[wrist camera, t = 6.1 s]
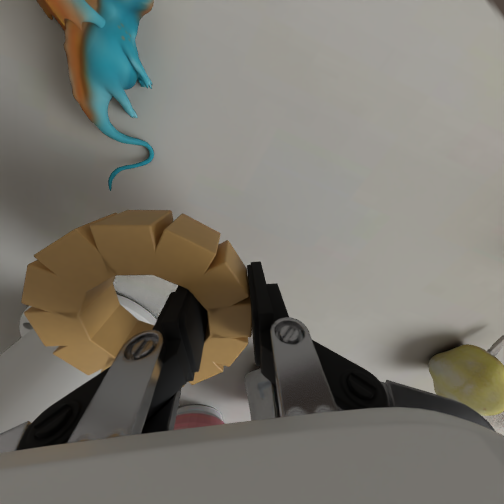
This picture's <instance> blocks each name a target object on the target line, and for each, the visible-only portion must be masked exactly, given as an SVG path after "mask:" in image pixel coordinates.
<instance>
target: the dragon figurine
mask: <svg viewBox="0 0 504 504" xmlns="http://www.w3.org/2000/svg"><path fill="white" fill-rule="evenodd" d="M37 2H38V3H39V5H40V6H41V8H42V9H43V11H44V12H45V14H46V15H47V16H48V17H49V18H50V19H51V20H53V17H52V15H53V16H54V17H55V19H56V20H57V21H58V23H59V24H60V25H61V27H62V28H63V30H64V33H65V38H66V39H65V43H64V49H65V52H66V55H67V61H68V70H69V78H70V82H71V85H72V93H73V96H74V98H75V99H76V100H77V102H78V103H79V104H80V106H81V108H82V110H83V111H84V113H85V114H86V115H87V117H88V118H89V120H90V121H91V122H93V123H94V124H95V125H96V126H97V127H98V128H99V129H100V130H101V131H102V132H103V133H104V134H105V135H107V136H108V137H110V138H112V139H114V140H116V141H119V142H121V143H126V144H135V145H142V146H145V147H147V149H148V150H149V152H150V155H149V157H148V159H146V160H144V161H142V162H139V163H136V164H132V165H126V166H122V167H119V168H117V169H115V170H114V171H113V172H112V173H111V175H110V177H109V180H108V185H109V189H110V191H111V188H112V187H111V186H112V180H113V179H114V177H115V176H116V175H117V174H118V173H119V172H120V171H122V170H125V169H131V168H135V167H139V166H143V165H146V164H148V163H149V162H151V161H152V159H153V157H154V152H153V149H152V147H151V146H150V145H149V144H148V143H147V142H145V141H143V140H140V139H137V138H133V137H129V136H127V135H124V134H122V133H120V132H119V131H117V130H116V129H115V128H114V127H113V125H112V124H111V123H110V121H109V118H108V104H109V101H110V100H111V98H112V97H114V98H115V99H116V100H117V101H118V102H119V103H120V104H121V105H122V107H123V109H124V110H125V111H126V112H127V113H128V115H130V116H131V117H132V118H133V117H134V118H138V117H137V115H136V112H135V111H134V110H133V108H132V106H131V103H130V101H129V99H128V97H127V95H126V93H125V91H124V90H125V89H130V88H132V87H133V86H134V85H135V83H136V81H137V78H138V81H139V83H140V85H141V87H145V85H146V87H147V88H148V86H149V87H150V88H151V85H152V82H151V80H150V79H149V77H148V76H147V74H146V72H145V70H144V68H143V66H142V64H141V62H140V60H139V57H138V51H137V47H136V43H135V38H136V35H137V30H138V25H139V21H140V19H141V17H143V16H144V15H145V14H147V13H148V12H150V11H151V9H152V7H153V3H154V0H37ZM151 89H152V88H151Z"/></svg>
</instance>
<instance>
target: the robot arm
mask: <svg viewBox="0 0 504 504" xmlns="http://www.w3.org/2000/svg"><path fill="white" fill-rule="evenodd" d="M247 270H248V282H249V292H250V301H251V315H252V334H253V344H254V355H255V365H256V366H259V365H260V368H261V373H262V375H263V376H264V377H265V378H267V379H268V380H269V381H270V382H271V392H272V401H273V410H274V418H272V419H263V420H254V421H245V422H237V423H229V424H220V425H212V426H204V427H195V428H187V429H179V430H174V425H175V420H176V415H177V410H178V405H179V400H180V395H181V388H182V387H183V386H184V385H185V384H186V382H188V381H193V380H194V375H195V372H199V369H200V364H201V358H202V353H203V347H204V339H205V334H206V328H207V322H208V315H207V310H206V309H205V308H204V307H203V306H202V305H201V303H200V302H199V301H198V300H197V299H196V298H195V297H194V295H193V294H192V293H191V292H190V291H189V290H188V289H186V288H184V287H181V286H179V285H178V288H177V290H176V292H172V293H171V294H170V295H169V297H168V299H167V301H166V303H165V305H164V307H163V309H162V311H161V313H160V315H159V317H158V319H157V320H156V319H155V318H154V317H153V315H152V314H151V313H150V312H148V311H147V310H146V309H144V308H143V307H142V306H140V305H139V304H137V303H135V302H133V301H131V300H130V299H128V298H125V297H123V296H120V295H118V294H117V297H118V300H119V303H120V305H122V306H123V307H124V308H125V309H126V310H127V311H129V312H130V313H131V314H132V315H133V316H134V317H135V318H137V319H138V320H140V321H143V322H146V323H149V324H152V325H154V327H153V329H152V330H147V331H143V332H141V333H138V334H136V335H135V336H133V337H132V338H130V339H129V340H128V341H127V342H126V343H125V344H124V345H123V347H122V348H121V349H120V351H119V353H118V355H117V356H116V358H115V360H114V362H113V363H112V365H111V366H110V367H109V368H107V369H106V370H104V371H103V372H101V370H102V369H101V370H99V371H97V372H95V373H93V374H91V375H86V374H85V373H83V372H81V371H80V370H78V369H77V368H75V367H73V366H72V365H70V364H68V363H67V362H65V361H64V360H62V359H60V358H59V357H57V356H55V355H54V354H53V352H54V351H55V350H56V349H57V348H58V347H59V346H47V347H46V346H44V344H43V343H42V341H41V340H40V338H39V336H38V335H37V333H36V332H35V330H34V329H33V327H32V325H31V324H30V322H29V321H28V319H27V318H26V316H25V315H24V312H25V311H26V310H28V309H29V308H30V307H32V306H29V307H28V308H27V309H26V310H25V311H24V312H23V314H22V316H21V318H20V323H19V331H20V335H21V339H19V340H18V341H17V342H16V343H14V344H13V345H12V346H11V347H9V348H8V349H7V350H6V351H5V352H3V353H2V354H1V355H0V504H504V436H503V435H501V434H499V433H497V432H496V431H495V430H494V429H493V427H492V426H491V425H490V424H489V422H488V421H487V420H485V419H484V418H483V417H482V416H481V415H480V414H479V413H478V412H476V411H475V410H473V409H472V408H470V407H469V406H467V405H465V404H463V403H461V402H458V401H456V400H453V399H450V398H446V397H443V396H439V395H436V394H433V393H429V392H426V391H422V390H419V389H416V388H412V387H409V386H406V385H402V384H399V383H395V382H392V381H389V380H386V382H385V383H384V382H380V381H379V380H378V379H377V378H376V377H375V376H374V375H373V374H371V373H370V372H368V371H367V370H365V369H364V368H362V367H360V366H358V365H356V364H355V363H353V362H351V361H349V360H347V359H346V358H344V357H342V356H340V355H338V354H337V353H335V352H333V351H331V350H329V349H328V348H326V347H324V346H322V345H320V344H319V343H317V342H315V341H313V340H312V339H311V336H310V334H309V331H308V329H307V327H306V326H305V325H304V324H303V323H302V322H301V321H299V320H297V319H294V318H289V316H288V313H287V310H286V307H285V304H284V301H283V299H282V296H281V293H280V290H279V287H278V284H277V283H276V284H266V281H265V277H264V273H263V269H262V265H261V262H251V265H247ZM100 372H101V373H100Z"/></svg>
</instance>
